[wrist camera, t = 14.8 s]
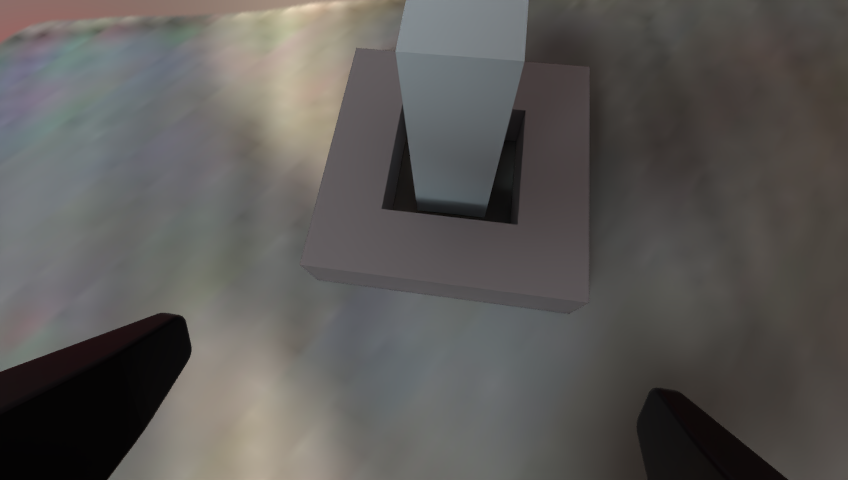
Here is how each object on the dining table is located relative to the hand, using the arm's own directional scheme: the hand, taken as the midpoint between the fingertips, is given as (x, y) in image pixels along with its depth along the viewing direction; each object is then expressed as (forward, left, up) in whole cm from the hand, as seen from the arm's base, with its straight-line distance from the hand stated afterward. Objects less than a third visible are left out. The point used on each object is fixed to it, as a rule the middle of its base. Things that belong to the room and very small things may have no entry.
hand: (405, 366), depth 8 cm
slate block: (+8, -8, -14) cm, 18 cm away
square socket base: (+8, -8, -14) cm, 18 cm away
